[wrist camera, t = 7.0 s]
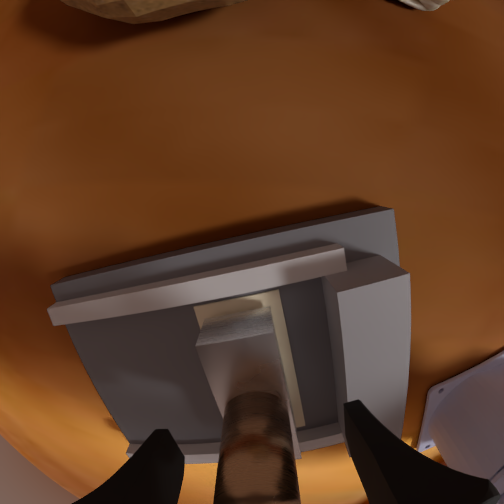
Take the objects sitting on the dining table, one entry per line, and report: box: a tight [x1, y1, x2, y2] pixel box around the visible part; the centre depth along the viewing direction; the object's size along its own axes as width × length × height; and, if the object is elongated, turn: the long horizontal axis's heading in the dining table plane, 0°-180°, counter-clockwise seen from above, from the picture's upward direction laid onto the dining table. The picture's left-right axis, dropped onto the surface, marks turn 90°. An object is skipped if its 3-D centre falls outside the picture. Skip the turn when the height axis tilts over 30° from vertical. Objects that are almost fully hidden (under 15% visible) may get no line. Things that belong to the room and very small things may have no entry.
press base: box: [47, 206, 411, 464], centre depth 14 cm, size 18×14×4 cm
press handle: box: [195, 306, 301, 504], centre depth 10 cm, size 3×8×8 cm, turn 13°
